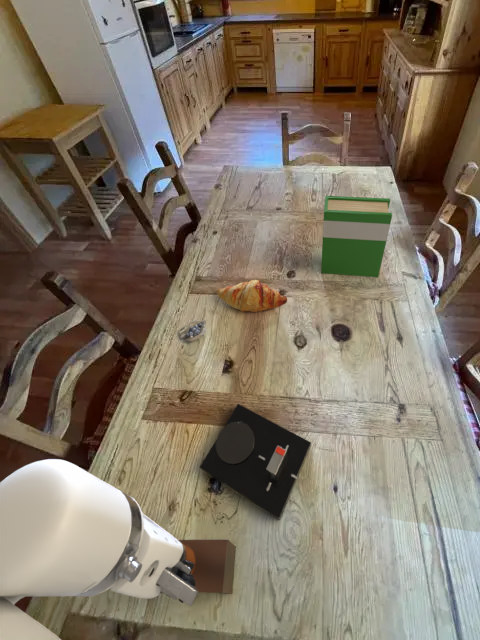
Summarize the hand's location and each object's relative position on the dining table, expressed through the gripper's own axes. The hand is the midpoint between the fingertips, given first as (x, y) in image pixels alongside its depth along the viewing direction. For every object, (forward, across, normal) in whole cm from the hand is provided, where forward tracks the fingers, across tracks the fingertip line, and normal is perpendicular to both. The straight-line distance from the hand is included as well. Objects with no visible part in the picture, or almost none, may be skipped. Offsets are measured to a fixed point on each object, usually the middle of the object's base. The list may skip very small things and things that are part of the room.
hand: (155, 554), depth 43 cm
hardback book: (+23, 0, -79) cm, 82 cm away
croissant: (+23, +21, -54) cm, 63 cm away
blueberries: (+23, +30, -38) cm, 54 cm away
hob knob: (+20, -6, -19) cm, 28 cm away
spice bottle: (+13, 0, 0) cm, 13 cm away
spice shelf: (+22, 0, 0) cm, 22 cm away
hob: (+22, -1, -19) cm, 29 cm away
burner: (+20, +4, -19) cm, 28 cm away
